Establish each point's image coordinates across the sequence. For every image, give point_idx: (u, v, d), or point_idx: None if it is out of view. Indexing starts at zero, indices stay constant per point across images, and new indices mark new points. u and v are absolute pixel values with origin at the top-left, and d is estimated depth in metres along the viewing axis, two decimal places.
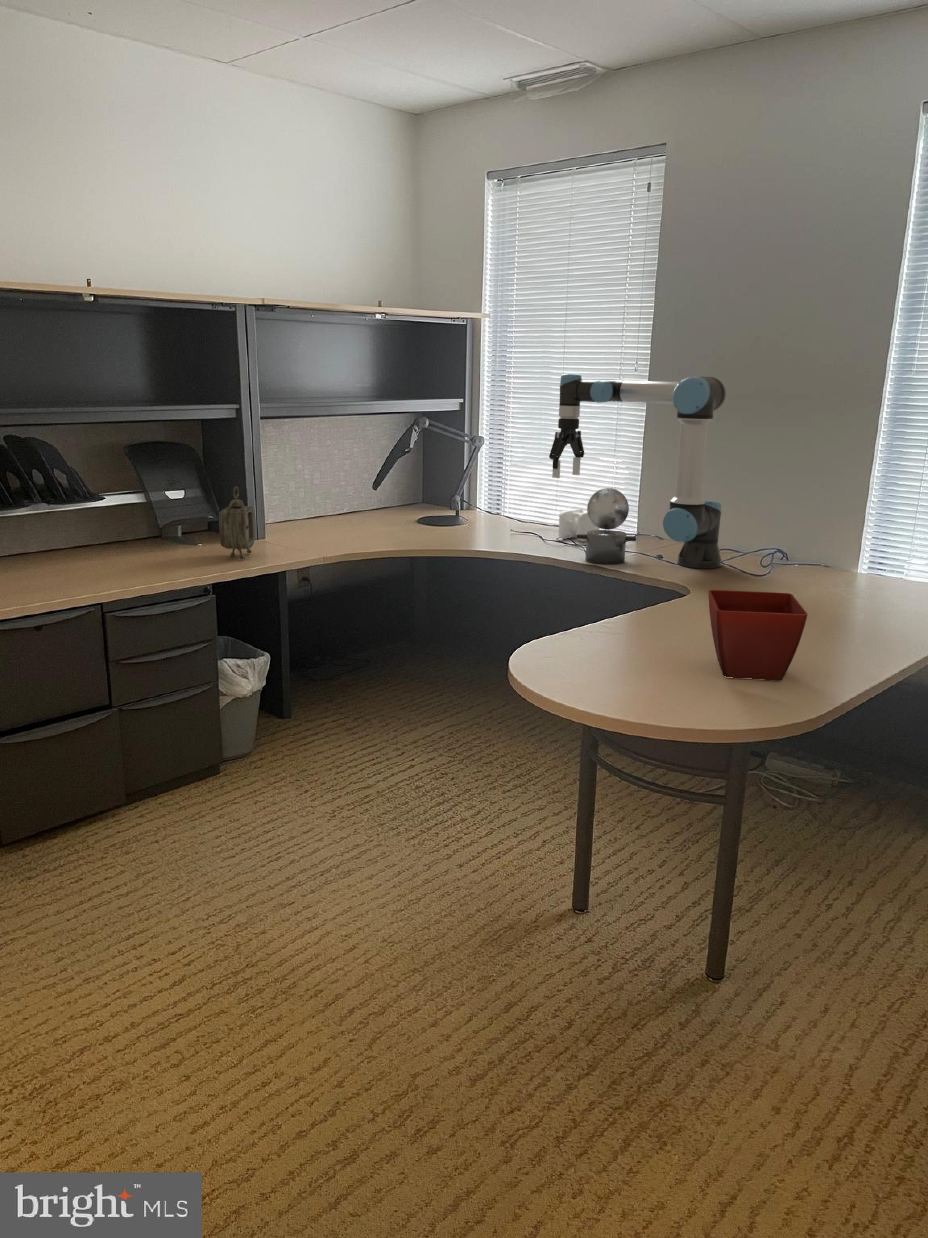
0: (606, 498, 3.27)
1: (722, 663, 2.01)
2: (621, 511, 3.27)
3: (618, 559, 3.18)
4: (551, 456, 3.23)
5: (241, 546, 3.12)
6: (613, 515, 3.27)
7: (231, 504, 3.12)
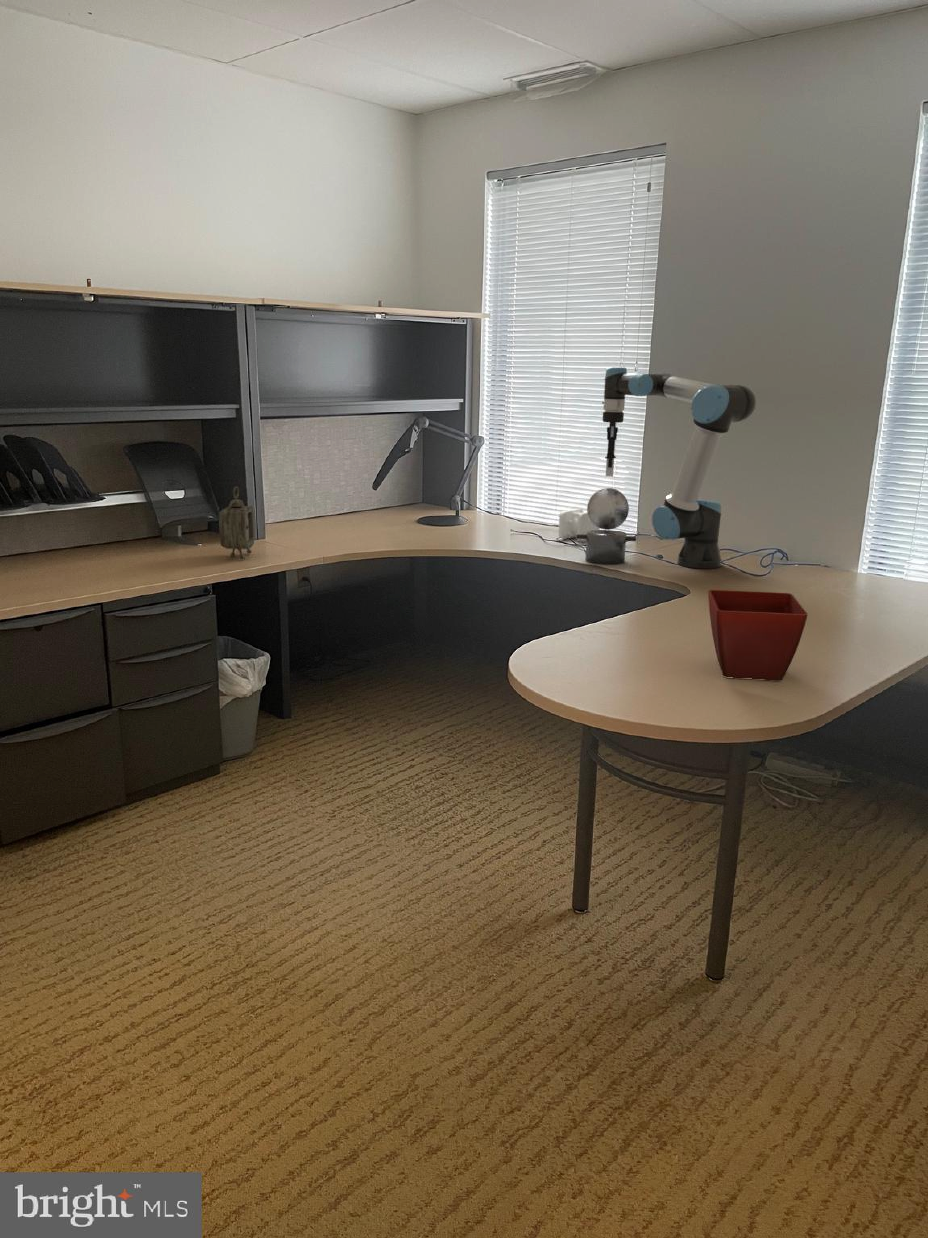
0: (606, 498, 3.27)
1: (722, 663, 2.01)
2: (621, 511, 3.27)
3: (618, 559, 3.18)
4: (609, 456, 3.29)
5: (241, 546, 3.12)
6: (613, 515, 3.27)
7: (231, 504, 3.12)
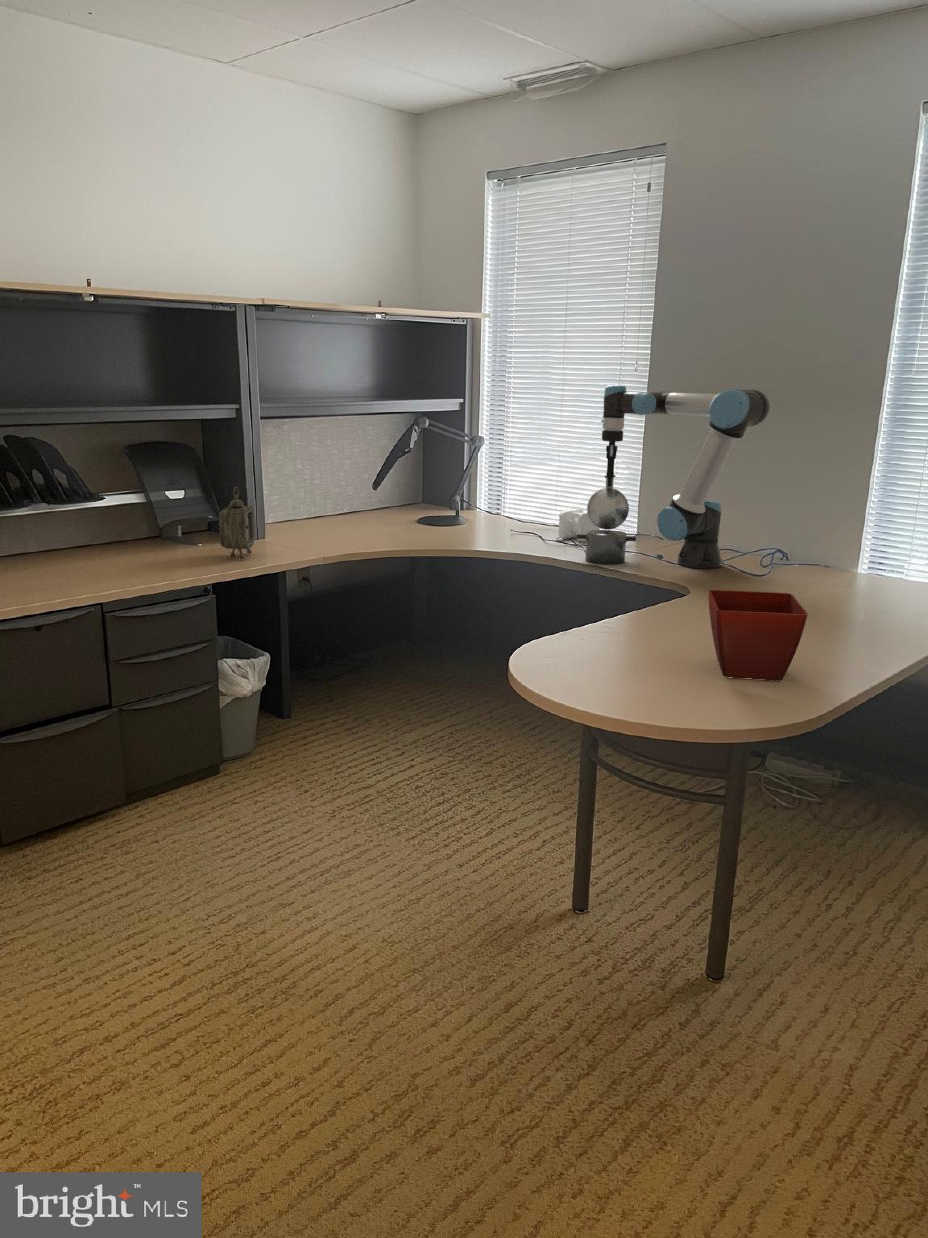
0: (606, 498, 3.27)
1: (722, 663, 2.01)
2: (621, 511, 3.26)
3: (618, 559, 3.18)
4: (609, 475, 3.24)
5: (241, 546, 3.12)
6: (613, 515, 3.27)
7: (231, 504, 3.12)
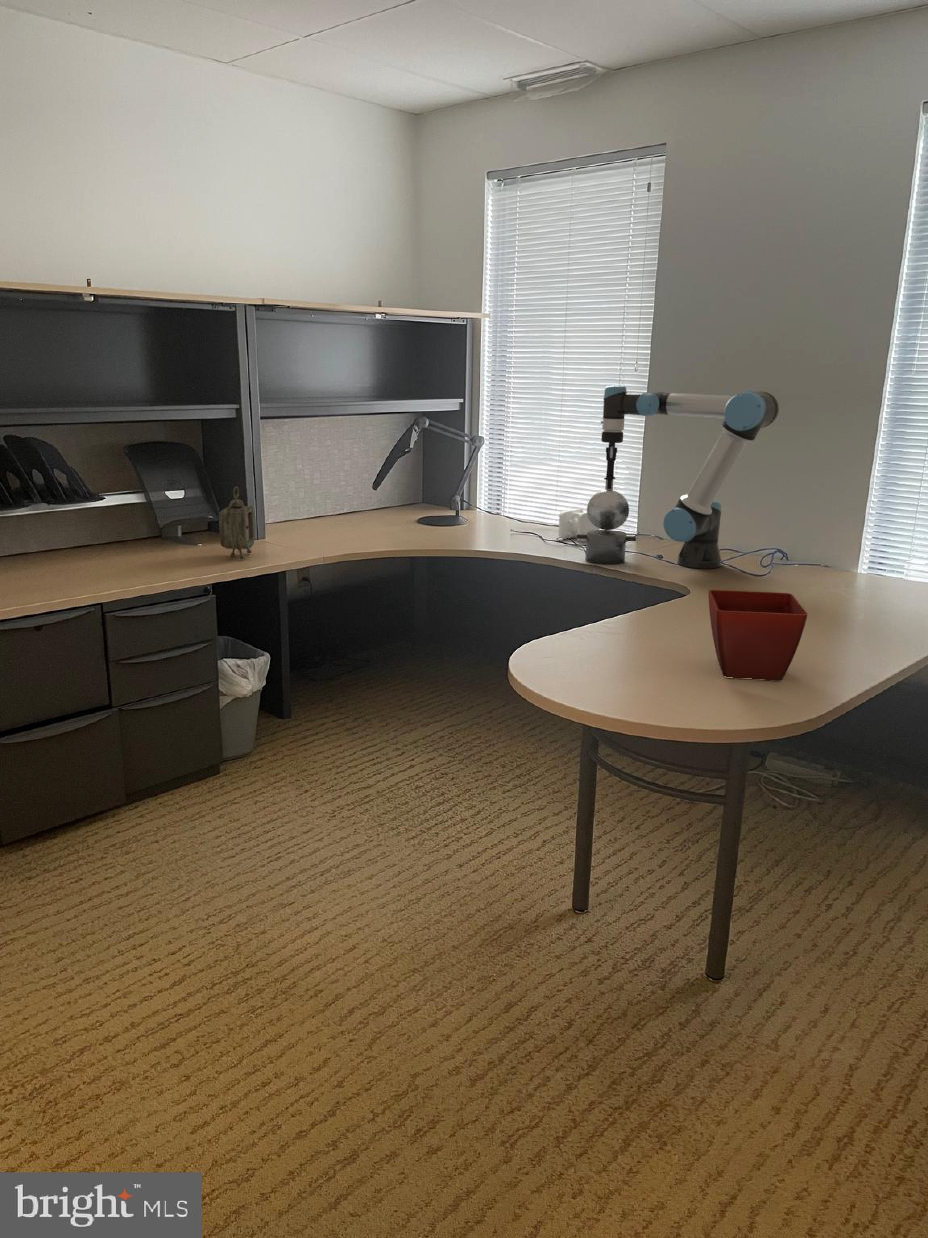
0: (606, 500, 3.22)
1: (722, 663, 2.01)
2: (621, 513, 3.24)
3: (618, 559, 3.18)
4: (609, 477, 3.18)
5: (241, 546, 3.12)
6: (613, 516, 3.25)
7: (231, 504, 3.12)
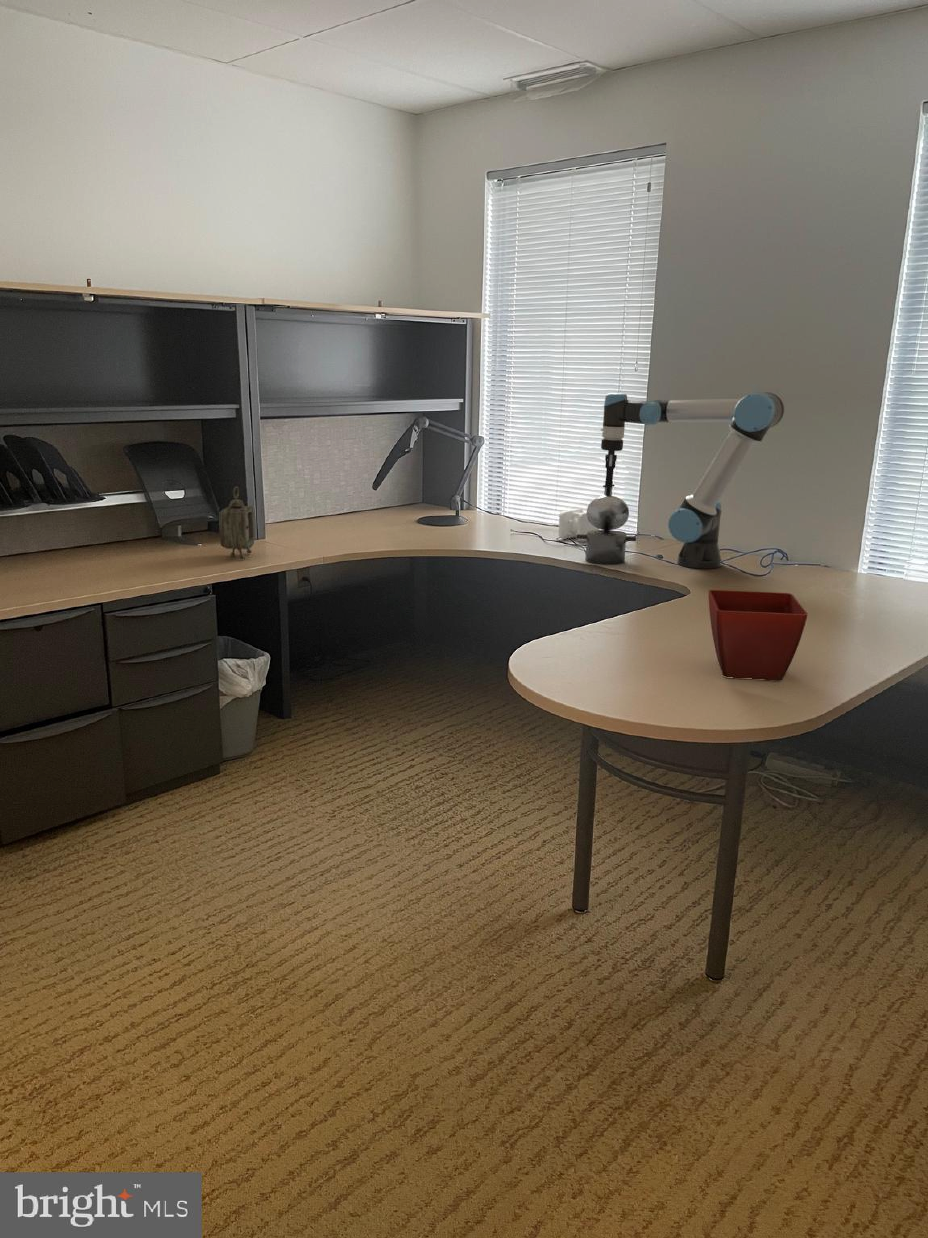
0: (606, 505, 3.20)
1: (722, 663, 2.01)
2: (621, 516, 3.22)
3: (618, 559, 3.18)
4: (608, 485, 3.16)
5: (241, 546, 3.12)
6: (613, 519, 3.24)
7: (231, 504, 3.12)
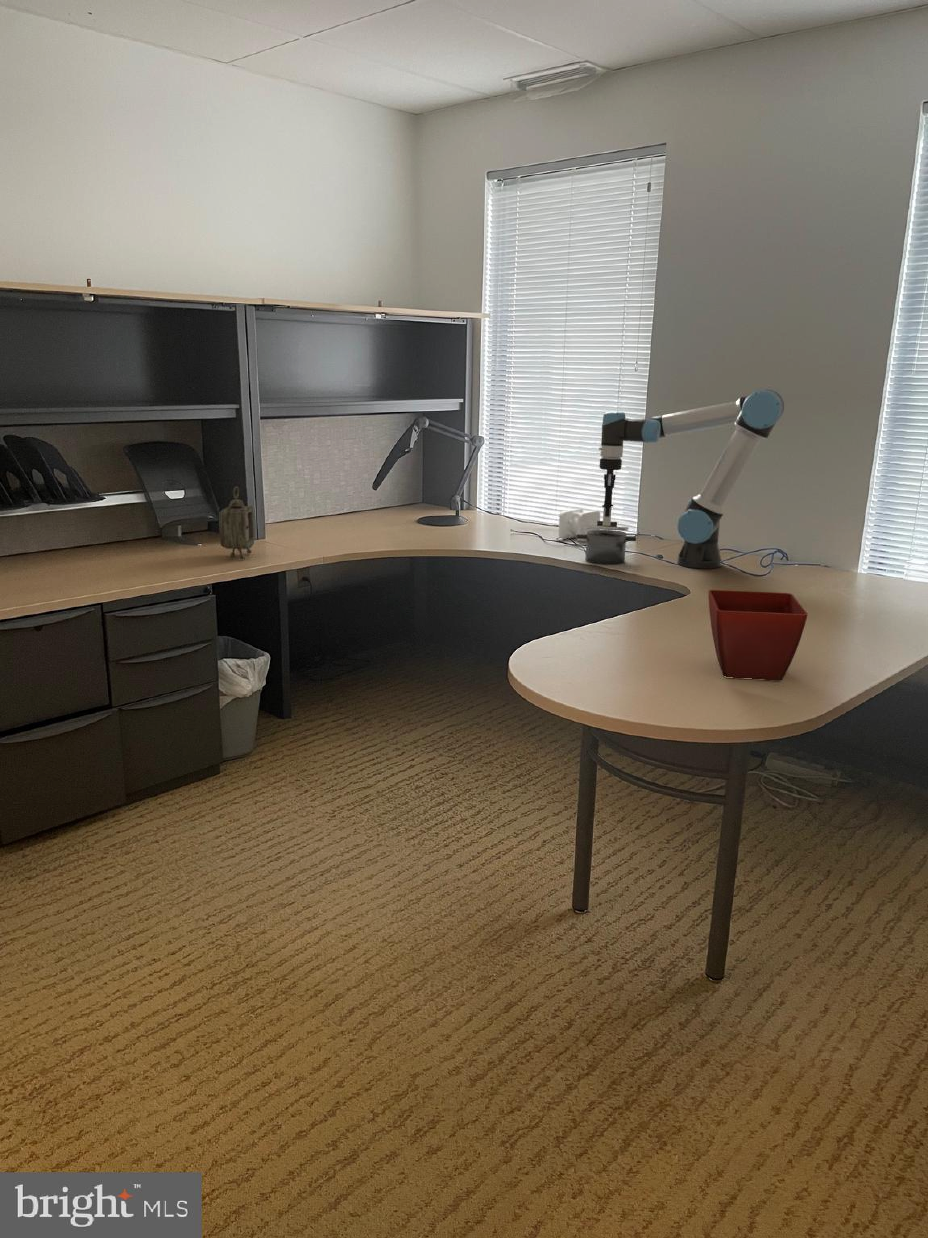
0: None
1: (722, 663, 2.01)
2: None
3: (618, 559, 3.18)
4: (607, 505, 3.11)
5: (241, 546, 3.12)
6: None
7: (231, 504, 3.12)
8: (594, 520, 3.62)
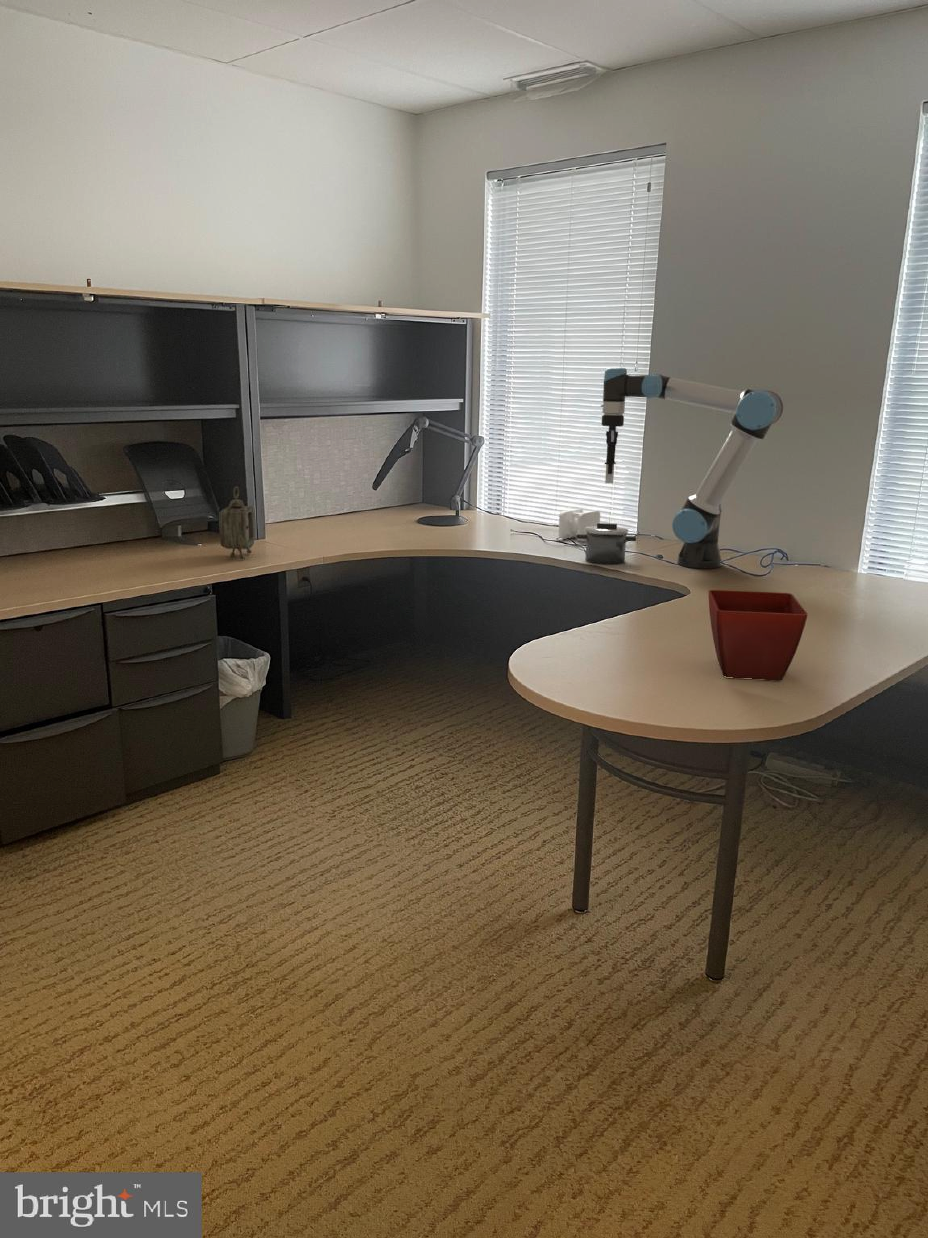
0: None
1: (722, 663, 2.01)
2: None
3: (618, 559, 3.18)
4: (610, 462, 3.11)
5: (241, 546, 3.12)
6: None
7: (231, 504, 3.12)
8: (594, 520, 3.62)
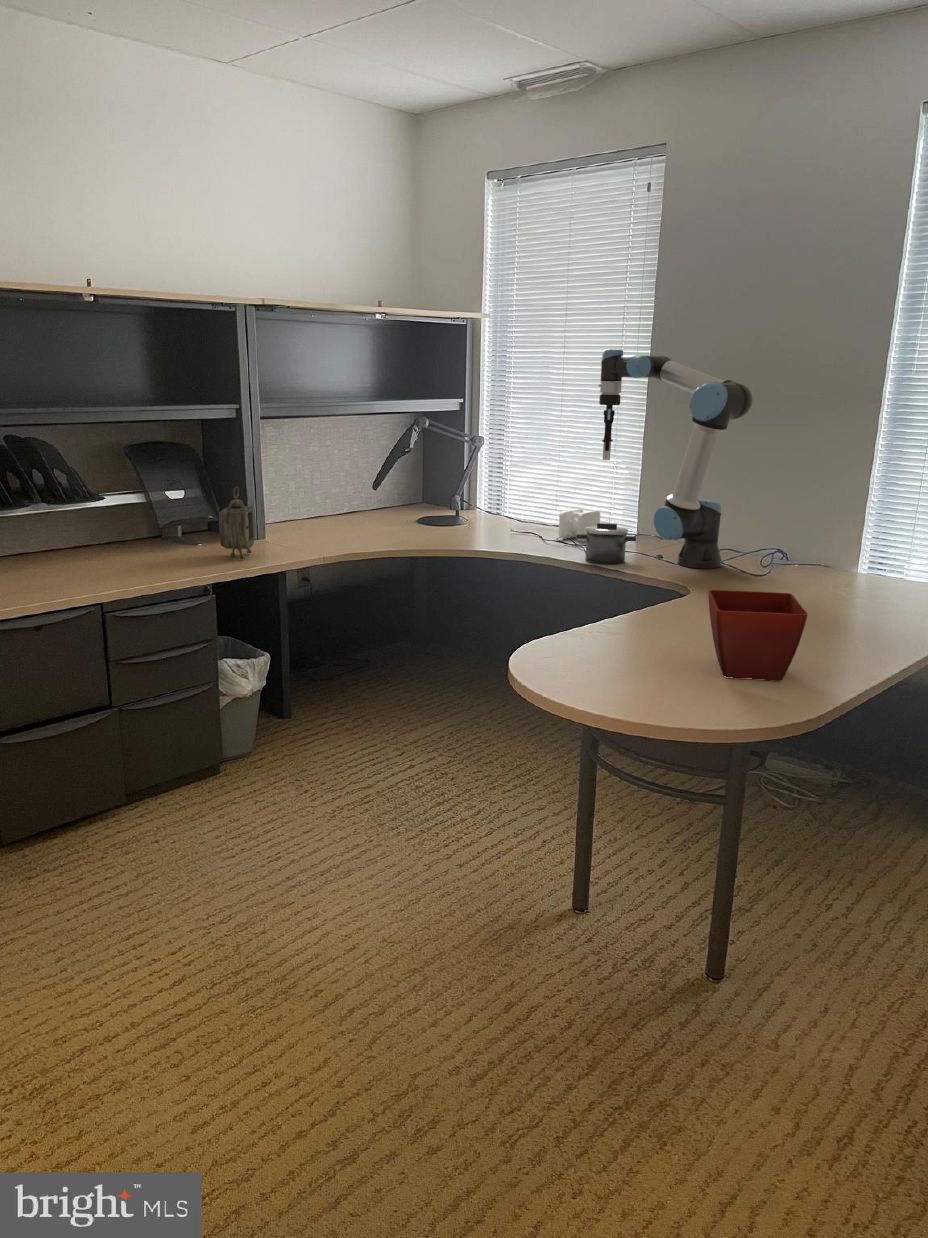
0: None
1: (722, 663, 2.01)
2: None
3: (618, 559, 3.18)
4: (606, 439, 3.26)
5: (241, 546, 3.12)
6: None
7: (231, 504, 3.12)
8: (594, 520, 3.62)
